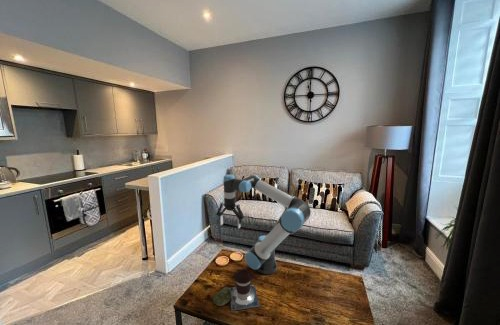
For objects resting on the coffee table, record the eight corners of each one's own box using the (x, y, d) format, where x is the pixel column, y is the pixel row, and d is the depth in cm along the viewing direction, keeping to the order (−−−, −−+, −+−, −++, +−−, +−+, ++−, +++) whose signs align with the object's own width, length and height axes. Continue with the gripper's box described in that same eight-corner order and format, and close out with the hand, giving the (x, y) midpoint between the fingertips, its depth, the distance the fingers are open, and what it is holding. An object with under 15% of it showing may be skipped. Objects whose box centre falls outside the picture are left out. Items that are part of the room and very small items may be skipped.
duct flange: (254, 285, 135) (254, 283, 135) (259, 306, 120) (259, 304, 120) (229, 289, 133) (229, 286, 132) (231, 311, 117) (231, 308, 117)
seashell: (209, 302, 121) (216, 283, 125) (213, 301, 127) (220, 283, 132) (225, 309, 118) (232, 289, 122) (229, 308, 124) (235, 289, 129)
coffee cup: (249, 287, 132) (249, 266, 129) (253, 300, 122) (253, 277, 120) (233, 290, 130) (233, 268, 127) (236, 303, 120) (236, 280, 117)
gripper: (210, 196, 145) (211, 225, 149) (244, 201, 136) (244, 231, 140) (216, 193, 152) (217, 221, 156) (248, 197, 143) (248, 226, 147)
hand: (230, 226), depth 148 cm, fingers open, 13 cm apart
